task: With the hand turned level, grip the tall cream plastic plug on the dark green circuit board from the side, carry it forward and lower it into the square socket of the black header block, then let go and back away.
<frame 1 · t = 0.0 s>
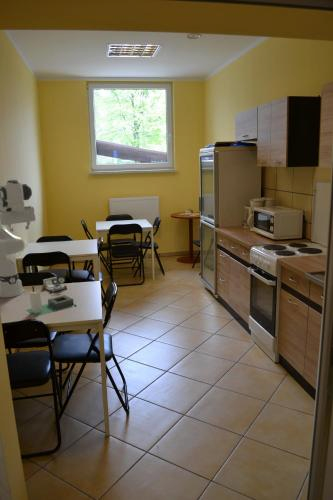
hand: (19, 230, 241), 48 cm above the table, tool pointing down, fingers open, 8 cm apart
plug: (37, 311, 237), point 1 cm above the table, touching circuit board
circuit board: (51, 308, 243), on the table
header: (61, 306, 247), resting on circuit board
grey mechanical device: (55, 290, 282), on the table
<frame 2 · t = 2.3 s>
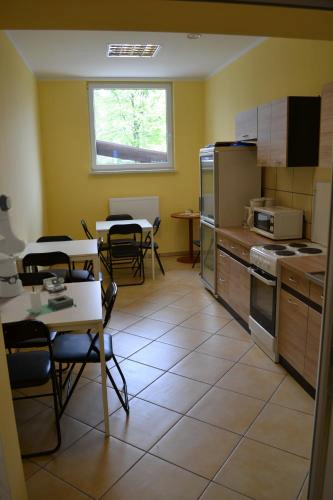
hand: (15, 256, 234), 34 cm above the table, tool horizontal, fingers open, 8 cm apart
nothing on the table moved.
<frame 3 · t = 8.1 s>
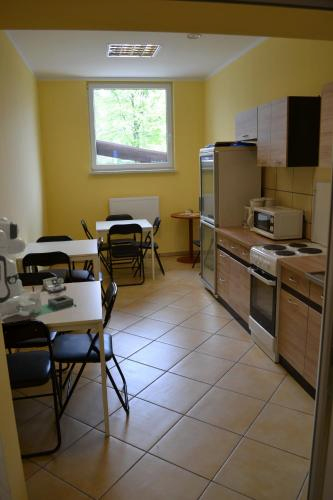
hand: (37, 299, 236), 8 cm above the table, tool horizontal, fingers closed on plug, 4 cm apart
plug: (37, 311, 237), point 1 cm above the table, touching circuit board, gripper
everything else where it was.
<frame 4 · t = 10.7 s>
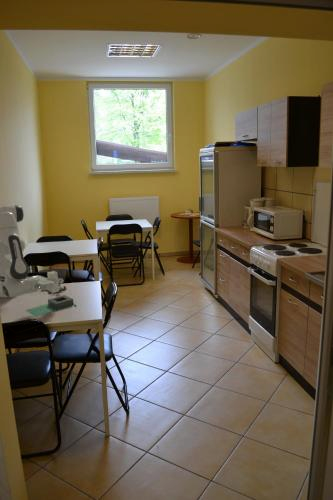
hand: (54, 279, 242), 18 cm above the table, tool horizontal, fingers closed on plug, 4 cm apart
plug: (54, 291, 243), point 11 cm above the table, touching gripper
everything else where it was.
when the fingers open (9 cm above the table, at t = 13.6 s): plug stays where it is, resting on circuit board.
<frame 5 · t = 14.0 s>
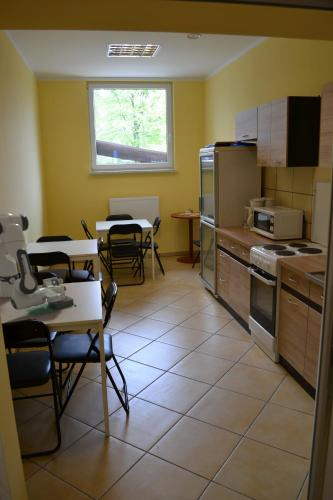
hand: (61, 291, 246), 9 cm above the table, tool horizontal, fingers open, 8 cm apart
plug: (61, 304, 247), point 1 cm above the table, touching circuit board
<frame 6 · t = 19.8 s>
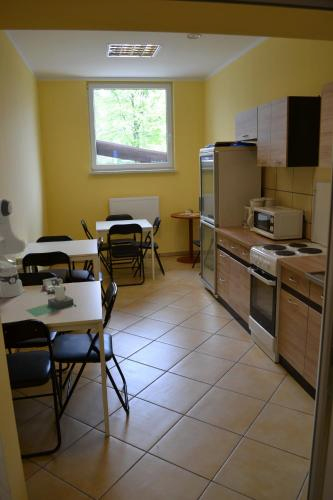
hand: (18, 264, 232), 30 cm above the table, tool horizontal, fingers open, 8 cm apart
at the end: plug 0.1 cm off-centre on the header, point 1.0 cm above the header's base; plug tilted 0°; the gripper is holding nothing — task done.
